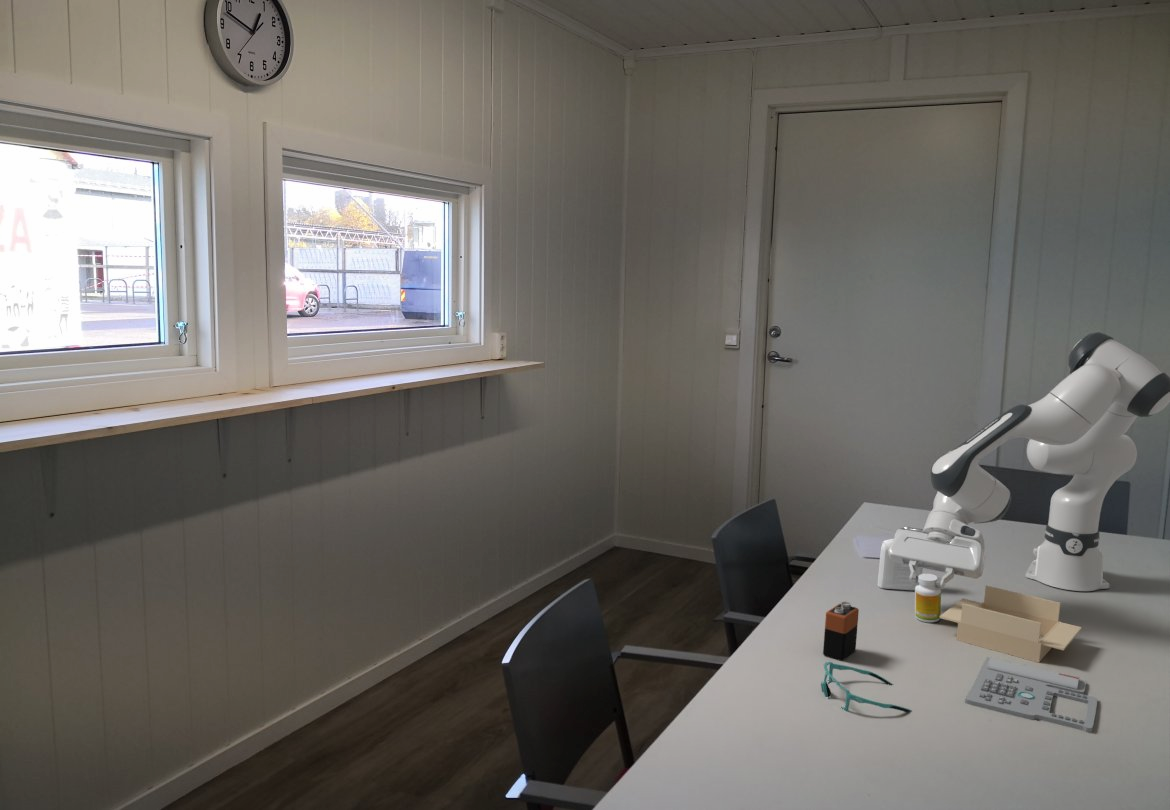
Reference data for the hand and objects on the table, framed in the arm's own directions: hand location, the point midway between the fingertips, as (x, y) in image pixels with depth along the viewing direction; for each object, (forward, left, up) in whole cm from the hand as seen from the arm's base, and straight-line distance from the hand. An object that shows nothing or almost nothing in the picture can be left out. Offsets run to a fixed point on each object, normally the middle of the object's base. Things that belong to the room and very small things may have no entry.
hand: (926, 584), depth 200 cm
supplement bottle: (-2, +1, -8) cm, 9 cm away
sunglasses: (+44, -9, -9) cm, 46 cm away
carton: (+4, +17, -8) cm, 19 cm away
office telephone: (+30, +20, -9) cm, 37 cm away
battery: (+27, -15, -9) cm, 32 cm away
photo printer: (-20, -6, -9) cm, 23 cm away
